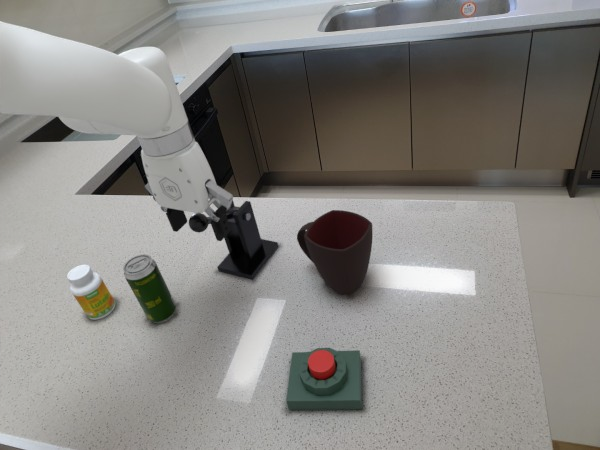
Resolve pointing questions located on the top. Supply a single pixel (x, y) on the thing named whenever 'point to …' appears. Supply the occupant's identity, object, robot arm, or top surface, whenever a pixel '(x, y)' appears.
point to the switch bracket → (245, 245)
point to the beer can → (149, 288)
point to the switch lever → (208, 220)
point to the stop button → (321, 364)
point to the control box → (325, 383)
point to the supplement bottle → (90, 292)
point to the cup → (339, 248)
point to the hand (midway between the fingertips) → (201, 230)
